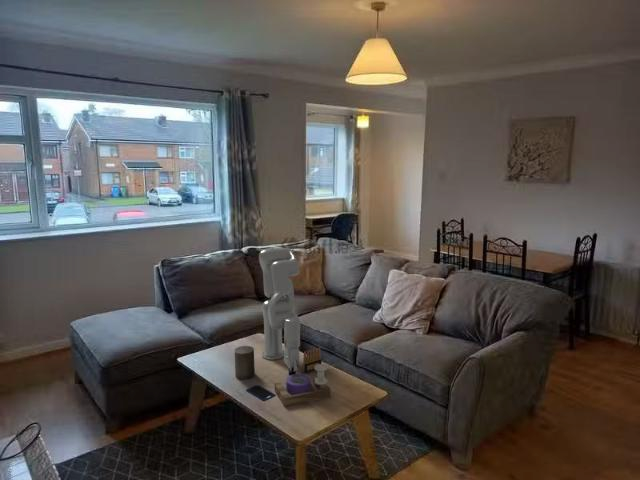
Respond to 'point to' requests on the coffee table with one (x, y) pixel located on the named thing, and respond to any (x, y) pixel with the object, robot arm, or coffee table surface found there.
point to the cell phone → (260, 392)
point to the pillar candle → (244, 362)
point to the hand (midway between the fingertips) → (292, 378)
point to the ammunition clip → (311, 360)
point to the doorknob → (320, 374)
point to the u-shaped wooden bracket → (302, 394)
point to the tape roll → (298, 384)
